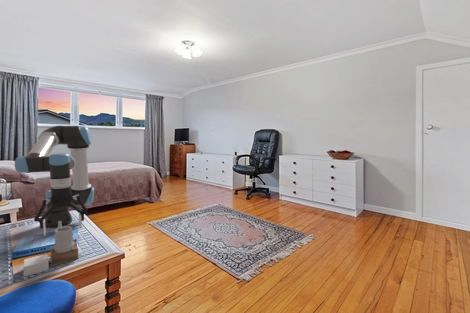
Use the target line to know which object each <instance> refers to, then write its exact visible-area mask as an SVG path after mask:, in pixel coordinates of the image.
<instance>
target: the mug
mask: <svg viewBox="0 0 470 313" xmlns="http://www.w3.org/2000/svg"><path fill="white" fill-rule="evenodd" d="M53 236H54V237H53V238H54V245H53V246H54V250H55V252H56V253H61V252H62V253H63V252H67V251H70V250H71V249H73V248H74V232H73V228H72V226H69V225H68V226H66V225H64V226H62V223H61V221H59V222H58V227H56V229H55V230H54V235H53Z"/></svg>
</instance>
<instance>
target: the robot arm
mask: <svg viewBox="0 0 470 313" xmlns="http://www.w3.org/2000/svg"><path fill="white" fill-rule="evenodd" d="M91 144H92V136H91V132H90V129H89V128H88V127H87V126H85V125H84V126H83V125H54V126H51V127H49V128H46V129H44V130H43V131H42V132H41V133H40V134H39V135H38V137H37V141H36V143H35V144H34V146H33V147H32V148H31V150H29V152H28V153H27V155H26V156H24V155H22V156H18V157H16V158H15V160H14V169H15V170H16V172H17V173H19V174H20V173H21V174H22V173H23V174H24V173H26V174H30V173H43V172H44V173H48V172H49V176H50V179H49V181H50V187H51V188H50V189H49V190H47V191H46V192H45V198H43V199H42V203H41V206H40V207H39V208H38V211H37V212H36V214H35V216H34V218H33V221H34V222H38V223H39V228H40V229H43V236H44V237H45V236H46V235H47V232H46V231H47V230H46V229H47V228H58V222H59V221H61V223H62V227H64V226H66V225H69V224H71V223H72V222H73V217H72V214H71V213H70V210H69V209H70V208H72V209H74V210H75V211H76V212H77V213H78V226H79V229H82V228H83V227H82V226H83V223H82V222H84V221H85V214H88V212H89V210H88V208H87V207H86V206H88V205H92V204H93V203H94V195H95V187H92V184H91V183H90V182H89V169H88V155H87V154H88V152H87V150H88V149H89V148H90V145H91ZM57 145H66V146H67V147H66V148H68V150H70V154H69V153H65V152H64V153H51V152H52V150H53V149H54V147H56V146H57ZM71 170H72V171H71ZM71 173H72V179H71ZM71 180H72V182H73V185H72V182H71ZM79 207H81V208H79ZM45 208H46V209H45ZM44 209H45V210H46V211H45V212H44ZM43 212H44V213H43ZM42 213H43V214H42Z"/></svg>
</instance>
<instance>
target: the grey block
mask: <svg viewBox="0 0 470 313" xmlns="http://www.w3.org/2000/svg"><path fill="white" fill-rule="evenodd" d="M22 269H23V277H28V276H31V275H35V274H38V273H42V272H46V271H49V270H50V269H49V254H48V253H45V254H41V255H37V256H32V257H28V258H25V259H24V260H23V267H22Z"/></svg>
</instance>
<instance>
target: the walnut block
mask: <svg viewBox="0 0 470 313" xmlns="http://www.w3.org/2000/svg"><path fill="white" fill-rule="evenodd" d="M73 242H74V248H73V249H71V250H70V251H67V252H63V253H62V252H61V253H56V252H55V250H54V246H55V245H53V246H50V247H49V248H50V262H51V263H50V264H51V267H52V266H53V267H54V266H56V265H60V264H64V263H67V262H68V263H69V262H71V261H75V260H78V259H79V248H78V244H77V242H76V241H75V240H73Z"/></svg>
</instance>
